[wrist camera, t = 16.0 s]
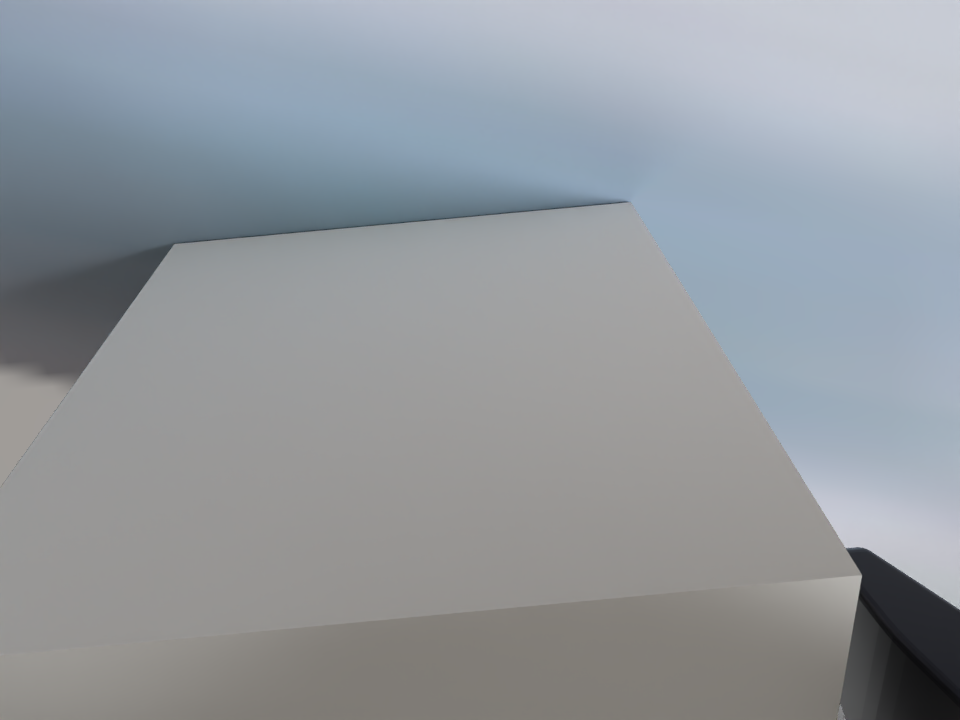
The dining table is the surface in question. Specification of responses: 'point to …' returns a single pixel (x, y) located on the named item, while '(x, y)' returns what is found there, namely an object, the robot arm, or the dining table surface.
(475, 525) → the plain white closed box
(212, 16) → the dining table surface
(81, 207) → the dining table surface
